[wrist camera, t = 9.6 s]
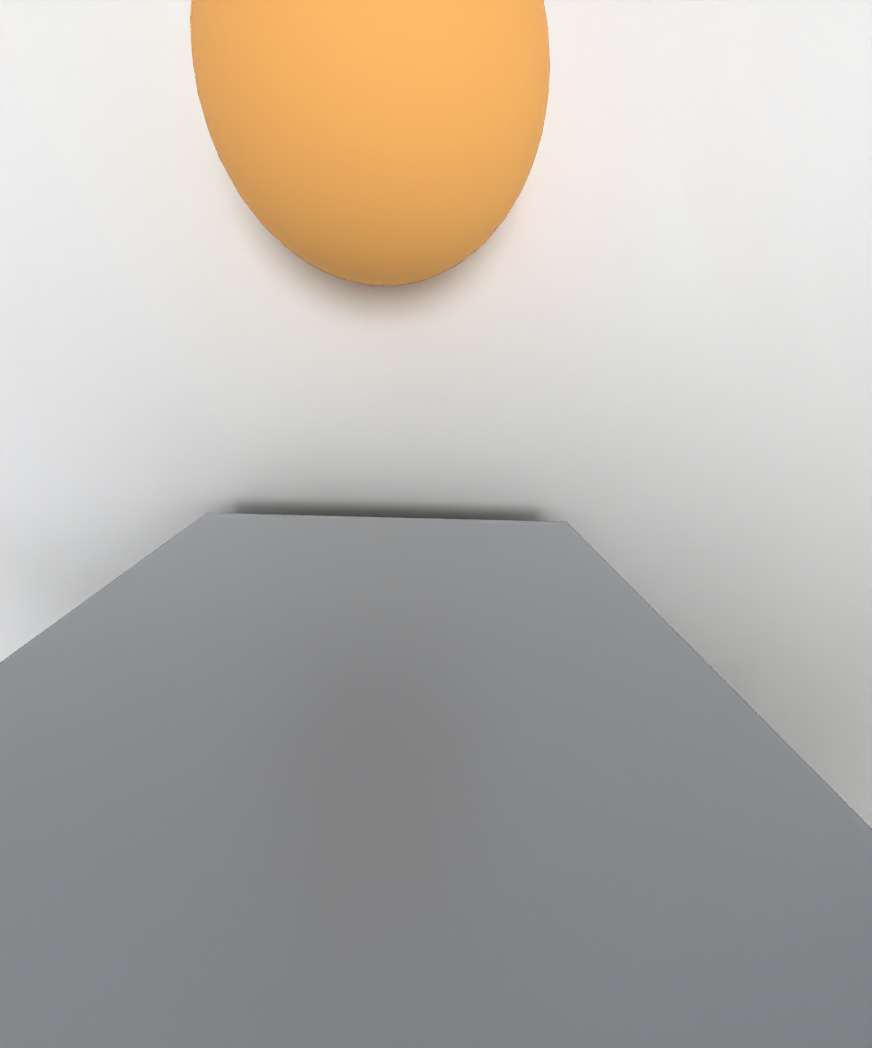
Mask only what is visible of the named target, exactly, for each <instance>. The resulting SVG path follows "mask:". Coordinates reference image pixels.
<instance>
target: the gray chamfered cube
mask: <svg viewBox="0 0 872 1048" xmlns="http://www.w3.org/2000/svg"><path fill="white" fill-rule="evenodd" d="M0 1048H872V829H871V828H870V827H869V826H868V825H867V824H866V823H865V822H864V821H863V820H862V819H861V818H860V817H859V816H858V815H857V814H856V813H855V812H854V811H853V810H852V809H851V808H850V807H849V806H848V805H847V804H846V803H845V801H844V800H843V799H842V798H841V797H840V796H839V795H838V794H837V793H836V792H835V791H834V790H833V789H832V788H831V787H830V786H829V785H828V784H827V783H826V782H825V781H824V780H823V779H822V778H821V777H820V776H819V775H818V774H817V773H816V772H815V771H814V770H813V769H812V768H811V767H810V766H809V765H808V764H807V763H806V762H805V761H804V760H803V759H802V758H801V757H800V756H799V755H798V754H797V753H796V752H795V751H794V750H793V749H792V748H791V747H790V746H789V745H788V744H787V743H786V742H785V741H784V740H783V739H782V738H781V737H780V736H779V735H778V734H777V733H776V732H775V731H774V730H773V729H772V728H771V727H770V726H769V725H768V724H767V723H766V722H765V721H764V720H763V719H762V718H761V717H760V716H759V715H758V714H757V713H756V712H755V711H754V710H753V709H752V708H751V707H750V706H749V705H748V704H747V703H746V702H745V701H744V700H743V699H742V698H741V697H740V696H739V695H738V694H737V693H736V692H735V691H734V690H733V689H732V688H731V687H730V686H729V685H728V684H727V683H726V682H725V681H724V680H723V679H722V678H721V677H720V676H719V675H718V674H717V673H716V672H715V671H714V670H713V669H712V668H711V667H710V666H709V665H708V664H707V663H706V662H705V661H704V660H703V659H702V658H701V657H700V656H699V655H698V654H697V653H696V652H695V651H694V650H693V649H692V648H691V647H690V645H689V644H688V643H687V642H686V641H685V640H684V639H683V638H682V637H681V636H680V635H679V634H678V633H677V632H676V631H675V630H674V629H673V628H672V627H671V626H670V625H669V624H668V623H667V622H666V621H665V620H664V619H663V618H662V617H661V616H660V615H659V614H658V613H657V612H656V611H655V610H654V609H653V608H652V607H651V606H650V605H649V604H648V603H647V602H646V601H645V600H644V599H643V598H642V597H641V596H640V595H639V594H638V593H637V592H636V591H635V590H634V589H633V588H632V587H631V586H630V585H629V584H628V583H627V582H626V581H625V580H624V579H623V578H622V577H621V576H620V575H619V574H618V573H617V572H616V571H615V570H614V569H613V568H612V567H611V566H610V565H609V564H608V563H607V562H606V561H605V560H604V559H603V558H602V557H601V556H600V555H599V554H598V553H597V552H596V551H595V550H594V549H593V548H592V547H591V546H590V545H589V544H588V543H587V542H586V541H585V540H584V539H583V538H582V537H581V536H580V535H579V534H578V533H577V532H576V531H575V530H574V529H573V528H572V527H571V526H570V525H569V524H568V523H567V522H555V521H515V520H475V519H435V518H395V517H355V516H315V515H275V514H235V513H206V514H205V515H204V516H202V517H201V518H199V519H198V520H197V521H195V522H194V523H193V524H191V525H190V526H188V527H187V528H186V529H184V530H183V531H181V532H180V533H179V534H177V535H176V536H175V537H173V538H172V539H170V540H169V541H168V542H166V543H165V544H164V545H162V546H161V547H159V548H158V549H157V550H155V551H154V552H152V553H151V554H150V555H148V556H147V557H146V558H144V559H143V560H141V561H140V562H139V563H137V564H136V565H135V566H133V567H132V568H130V569H129V570H128V571H126V572H125V573H123V574H122V575H121V576H119V577H118V578H117V579H115V580H114V581H112V582H111V583H110V584H108V585H107V586H105V587H104V588H103V589H101V590H100V591H99V592H97V593H96V594H94V595H93V596H92V597H90V598H89V599H88V600H86V601H85V602H83V603H82V604H81V605H79V606H78V607H76V608H75V609H74V610H72V611H71V612H70V613H68V614H67V615H65V616H64V617H63V618H61V619H60V620H59V621H57V622H56V623H54V624H53V625H52V626H50V627H49V628H47V629H46V630H45V631H43V632H42V633H41V634H39V635H38V636H36V637H35V638H34V639H32V640H31V641H29V642H28V643H27V644H25V645H24V646H23V647H21V648H20V649H18V650H17V651H16V652H14V653H13V654H12V655H10V656H9V657H7V658H6V659H5V660H3V661H2V662H0Z"/></svg>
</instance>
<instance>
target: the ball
mask: <svg viewBox="0 0 872 1048" xmlns="http://www.w3.org/2000/svg"><path fill="white" fill-rule="evenodd" d="M190 23H191V44H192V57H193V66H194V72H195V78H196V84H197V90H198V95H199V99H200V103H201V106H202V110H203V113H204V117H205V120H206V123H207V127H208V130H209V133H210V136H211V138H212V141H213V143H214V146H215V148H216V150H217V153H218V155H219V158H220V160H221V162H222V164H223V166H224V167H225V169H226V171H227V173H228V175H229V176H230V178H231V180H232V182H233V184H234V185H235V187H236V189H237V191H238V193H239V194H240V196H241V197H242V199H243V200H244V201H245V203H246V204H247V205H248V207H249V208H250V209H251V211H252V212H253V213H254V215H255V216H256V217H257V218H258V220H259V221H260V222H261V223H262V224H263V225H264V226H265V227H266V228H267V229H268V231H269V232H270V233H271V234H272V235H273V236H274V237H275V238H277V239H278V240H279V241H280V242H281V243H282V244H283V245H284V246H285V247H287V248H288V249H289V250H291V251H292V252H293V253H295V254H296V255H298V256H299V257H300V258H302V259H303V260H305V261H306V262H307V263H309V264H311V265H313V266H315V267H316V268H318V269H320V270H322V271H325V272H327V273H329V274H332V275H334V276H337V277H339V278H342V279H345V280H348V281H352V282H356V283H362V284H367V285H380V286H390V285H402V284H410V283H414V282H418V281H422V280H425V279H428V278H431V277H433V276H436V275H438V274H440V273H442V272H444V271H446V270H448V269H450V268H452V267H454V266H456V265H457V264H459V263H460V262H462V261H463V260H465V259H466V258H467V257H468V256H470V255H471V254H472V253H473V252H474V251H476V250H477V249H478V248H479V247H480V246H481V245H482V244H484V243H485V242H486V241H487V239H488V238H489V237H490V236H491V235H492V233H493V232H494V231H495V230H496V229H497V227H498V226H499V225H500V224H501V223H502V221H503V220H504V219H505V218H506V216H507V214H508V213H509V211H510V209H511V208H512V206H513V204H514V203H515V201H516V199H517V198H518V196H519V194H520V192H521V191H522V189H523V186H524V184H525V182H526V180H527V177H528V175H529V173H530V170H531V168H532V165H533V162H534V159H535V156H536V153H537V149H538V146H539V142H540V139H541V136H542V131H543V125H544V119H545V113H546V107H547V100H548V91H549V73H550V59H549V40H548V27H547V19H546V13H545V7H544V1H543V0H192V2H191V16H190Z"/></svg>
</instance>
